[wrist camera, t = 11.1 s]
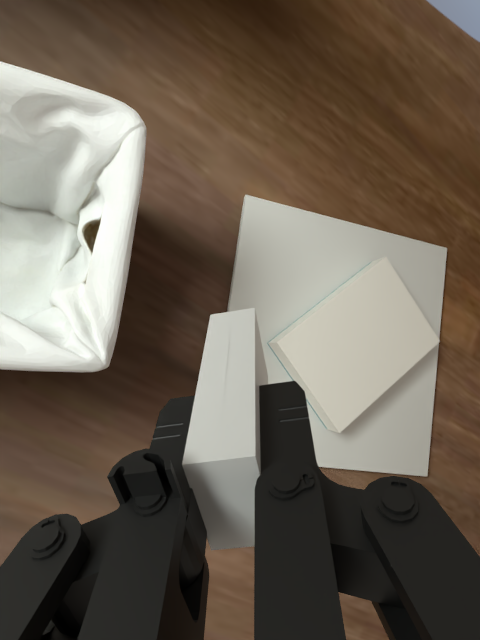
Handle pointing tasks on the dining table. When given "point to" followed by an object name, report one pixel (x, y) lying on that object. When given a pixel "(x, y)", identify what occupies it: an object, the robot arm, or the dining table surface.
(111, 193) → the storage basket
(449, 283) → the dining table surface
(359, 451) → the mat
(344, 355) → the tile
